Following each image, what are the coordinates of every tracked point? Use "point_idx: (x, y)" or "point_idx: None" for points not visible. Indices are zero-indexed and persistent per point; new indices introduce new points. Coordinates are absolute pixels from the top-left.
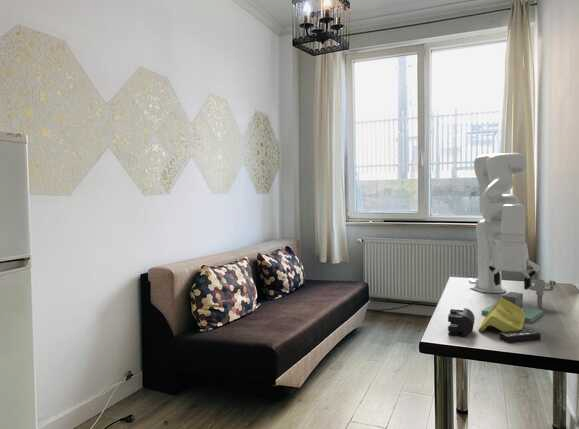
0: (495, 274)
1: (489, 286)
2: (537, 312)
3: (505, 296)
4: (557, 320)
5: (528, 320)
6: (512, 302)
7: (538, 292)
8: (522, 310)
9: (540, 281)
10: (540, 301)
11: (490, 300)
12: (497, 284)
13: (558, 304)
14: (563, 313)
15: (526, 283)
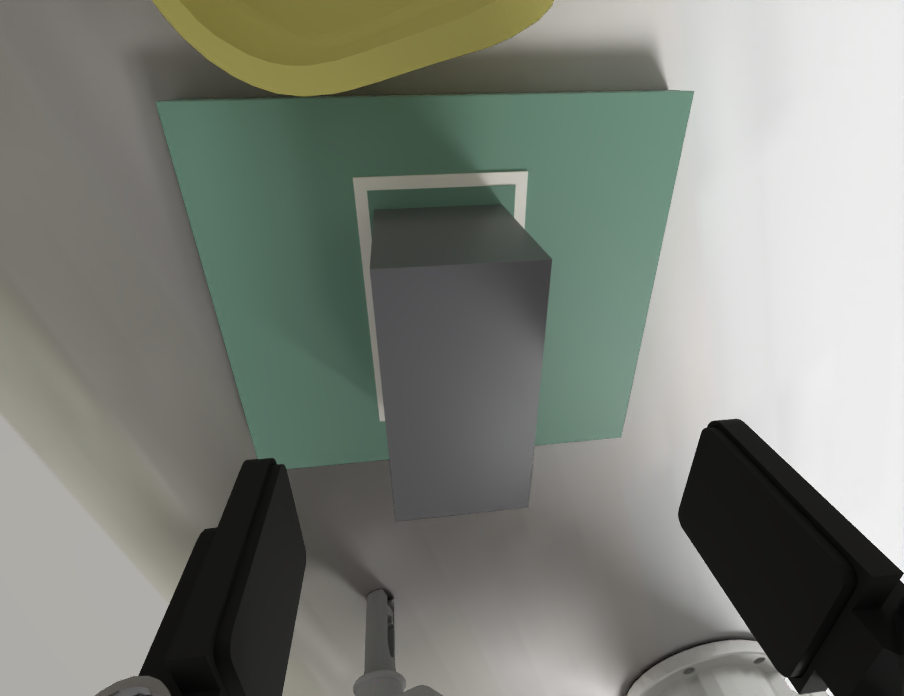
0: (895, 581)
1: (715, 693)
2: (253, 388)
3: (510, 261)
4: (99, 371)
5: (192, 99)
6: (407, 240)
7: (381, 690)
8: (194, 42)
9: None
10: (371, 626)
11: (665, 535)
12: (708, 441)
13: (321, 677)
14: None
15: (213, 548)
